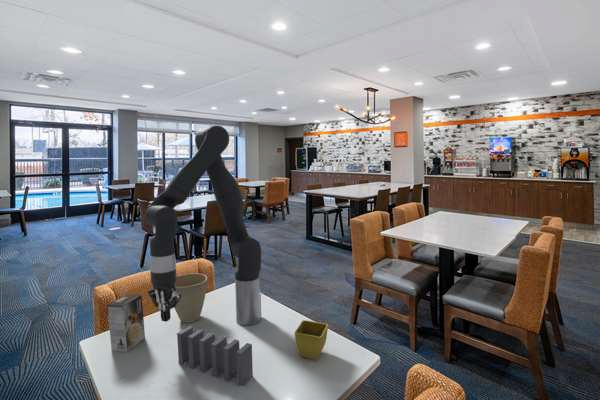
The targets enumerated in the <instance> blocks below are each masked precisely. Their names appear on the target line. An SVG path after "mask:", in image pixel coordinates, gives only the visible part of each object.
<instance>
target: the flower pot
mask: <svg viewBox="0 0 600 400" xmlns="http://www.w3.org/2000/svg"><path fill="white" fill-rule="evenodd" d="M328 331H329V324H328V323H323V322H317V321H311V320H304V319H303V320H301V322H300V324H299V326H297V328H296V329H295V331H294V338H295V345H296V346H295V347H296V349H297V351H298V353H299V355H300V356H301V357H303V358H306V359H310V360H316V361H317V360H318V359H319V357H320V355H321V354H322V351H323V349H324V348H325V345H326V342H327V338H328V337H327V336H328Z"/></svg>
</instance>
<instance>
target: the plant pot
mask: <svg viewBox="0 0 600 400" xmlns="http://www.w3.org/2000/svg"><path fill="white" fill-rule="evenodd" d="M176 278H177V280H176V282H175V284H174V285H175V288H176V291H175V292H176V293H177V294H178V295H179V294H181V296H182V297H181V299H180V300H179V302H178V303H177V305H176V306H175V307H174V308H173V309H174V311H175V313H176V315H177V317H178V318H179V321H180V322H182V323H193V322H195V321H197V320H199V319H200V317H201V314H202V311H203V307H204V303H205V300H206V299H205V298H206V294H207V293H206V292H207V286H208V284H207V283H208V276H207V275H206V274H203V273H185V274H180V275H176Z"/></svg>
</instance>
